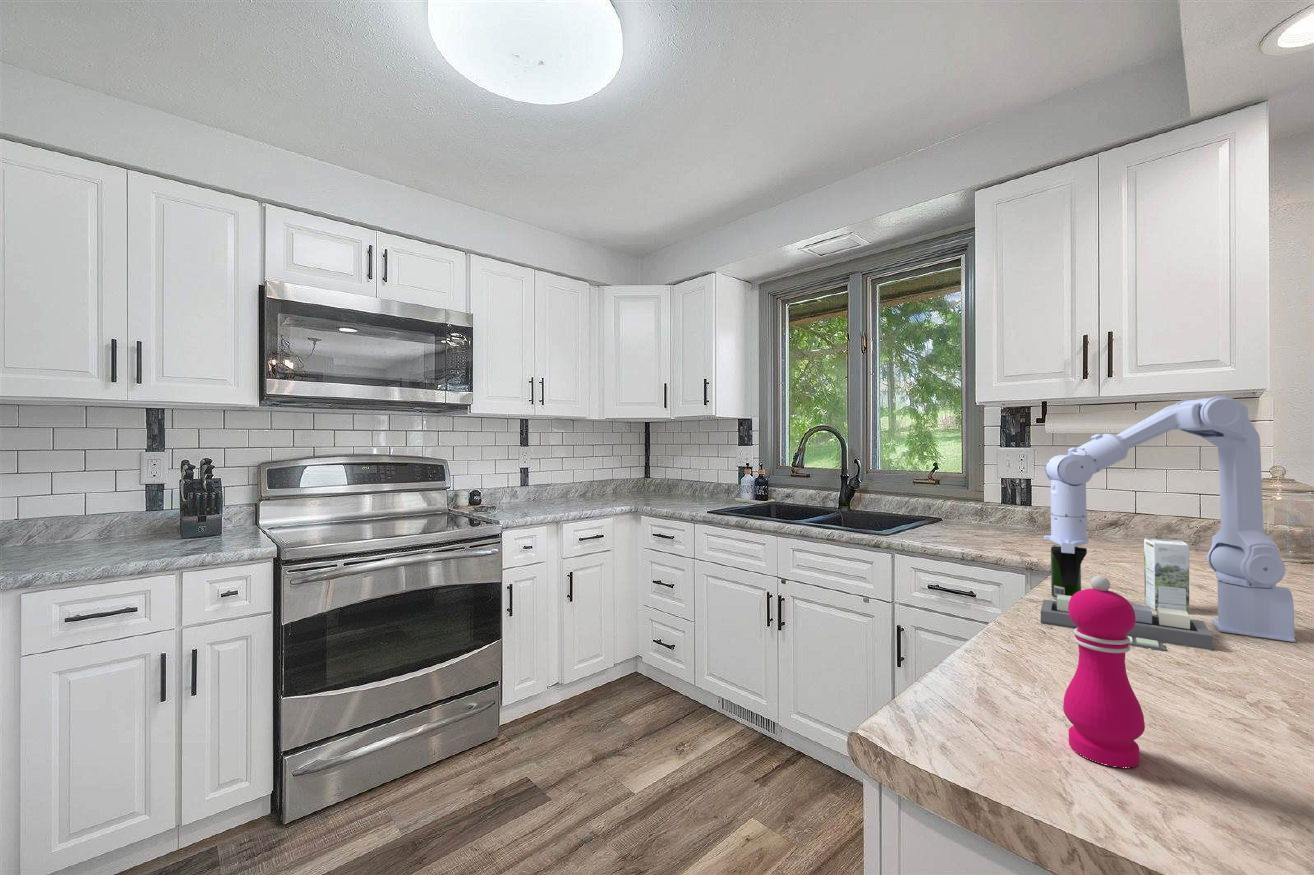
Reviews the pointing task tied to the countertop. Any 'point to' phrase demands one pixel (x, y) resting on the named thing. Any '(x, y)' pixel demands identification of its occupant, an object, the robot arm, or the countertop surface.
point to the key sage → (1063, 602)
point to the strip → (1146, 643)
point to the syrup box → (1166, 574)
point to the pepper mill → (1103, 679)
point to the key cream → (1173, 618)
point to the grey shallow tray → (1141, 628)
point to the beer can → (1056, 581)
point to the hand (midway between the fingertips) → (1069, 584)
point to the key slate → (1142, 613)
